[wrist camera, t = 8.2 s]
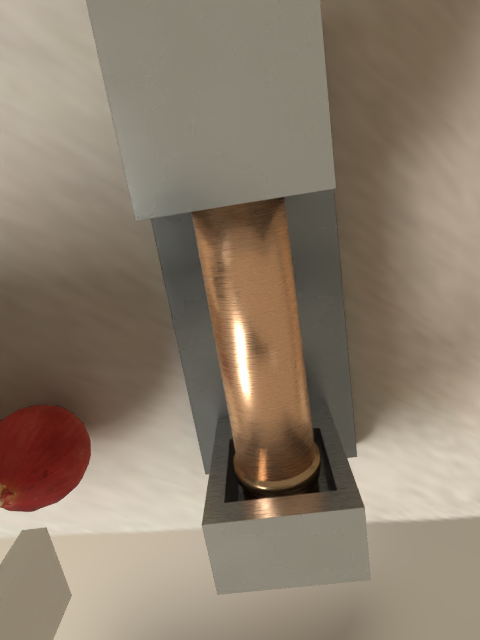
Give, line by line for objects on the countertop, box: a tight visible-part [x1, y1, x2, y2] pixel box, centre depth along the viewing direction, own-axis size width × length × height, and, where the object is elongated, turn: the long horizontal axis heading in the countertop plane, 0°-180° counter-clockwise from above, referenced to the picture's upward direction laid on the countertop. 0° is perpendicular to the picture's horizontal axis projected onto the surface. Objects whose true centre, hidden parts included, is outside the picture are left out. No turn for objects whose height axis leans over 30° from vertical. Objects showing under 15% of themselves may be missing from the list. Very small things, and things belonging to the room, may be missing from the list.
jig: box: [86, 0, 371, 595], centre depth 20 cm, size 10×25×10 cm, turn 9°
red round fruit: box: [0, 405, 91, 512], centre depth 24 cm, size 6×6×8 cm
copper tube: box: [191, 197, 321, 501], centre depth 20 cm, size 4×18×4 cm, turn 9°
